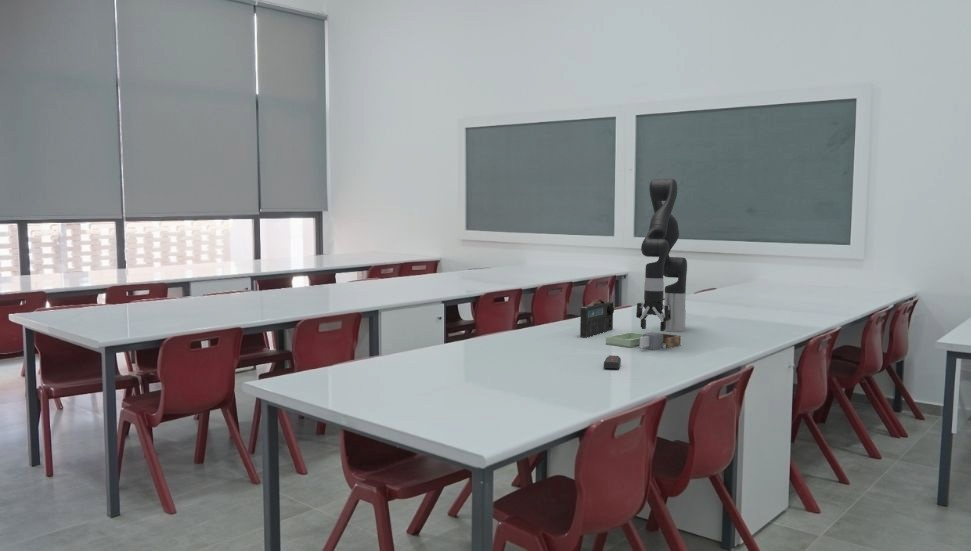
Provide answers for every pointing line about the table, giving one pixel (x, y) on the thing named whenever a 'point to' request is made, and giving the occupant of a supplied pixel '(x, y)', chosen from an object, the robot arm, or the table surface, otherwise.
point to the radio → (596, 318)
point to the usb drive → (612, 362)
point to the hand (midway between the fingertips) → (652, 330)
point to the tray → (624, 340)
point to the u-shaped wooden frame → (671, 340)
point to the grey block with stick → (651, 341)
